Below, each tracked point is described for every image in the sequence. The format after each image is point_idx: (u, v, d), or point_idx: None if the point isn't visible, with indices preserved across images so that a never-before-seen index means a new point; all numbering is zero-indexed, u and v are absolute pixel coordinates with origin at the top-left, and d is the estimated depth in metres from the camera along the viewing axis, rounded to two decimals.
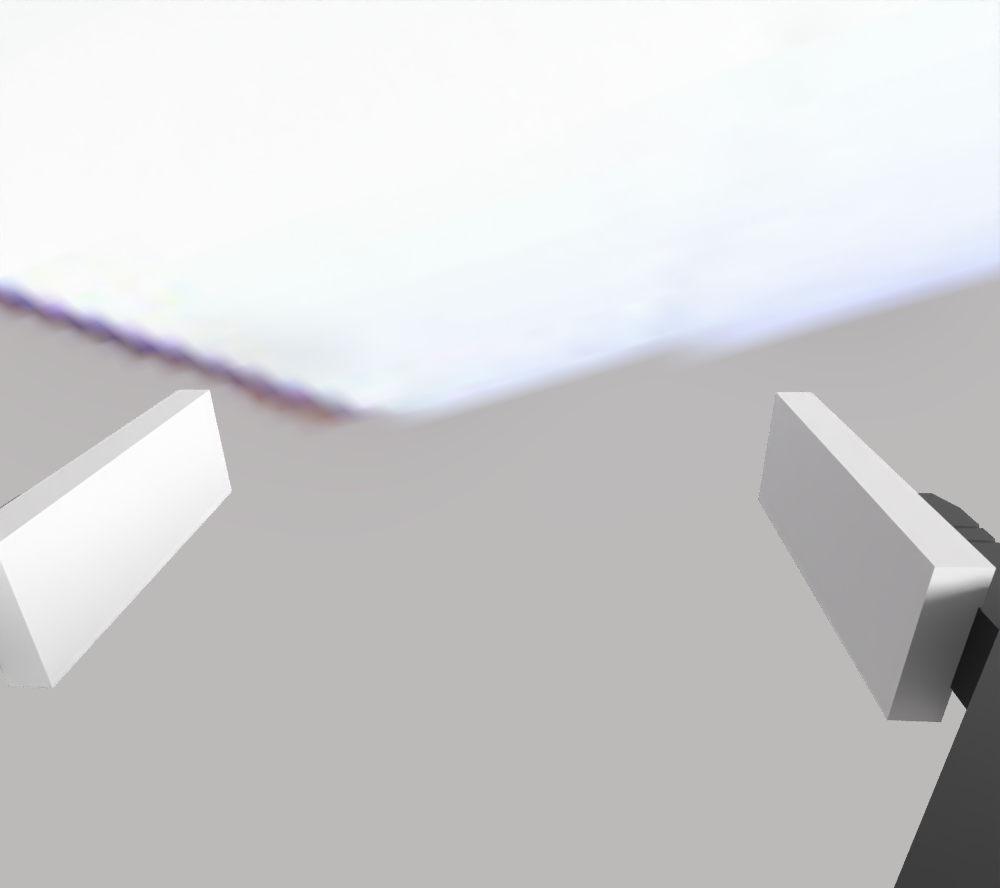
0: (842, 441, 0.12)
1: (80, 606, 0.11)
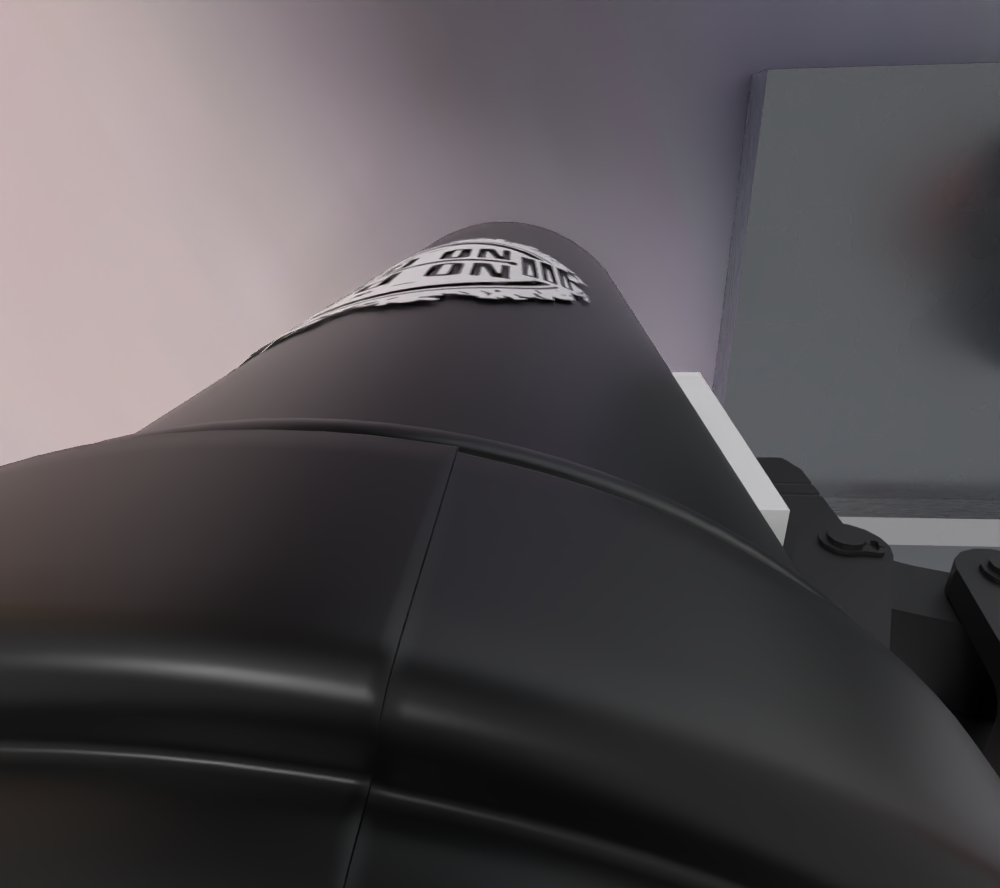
0: (707, 412, 0.13)
1: None
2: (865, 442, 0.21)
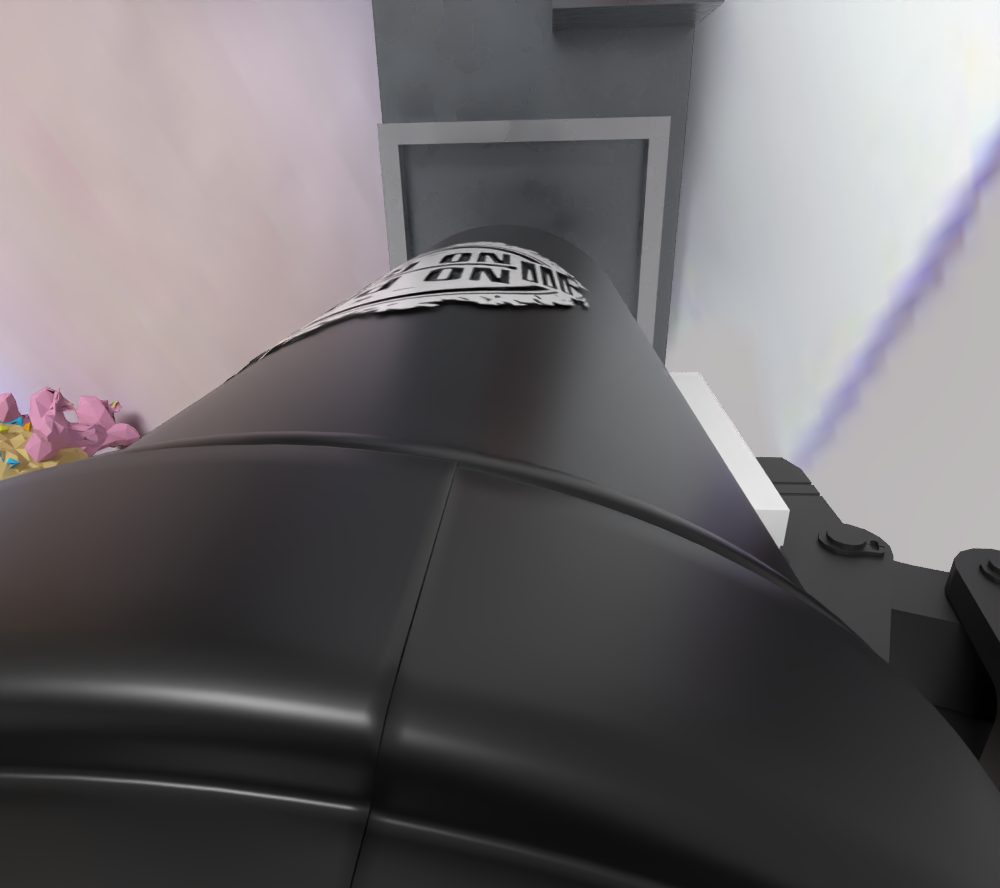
0: (707, 412, 0.13)
1: None
2: (465, 78, 0.34)
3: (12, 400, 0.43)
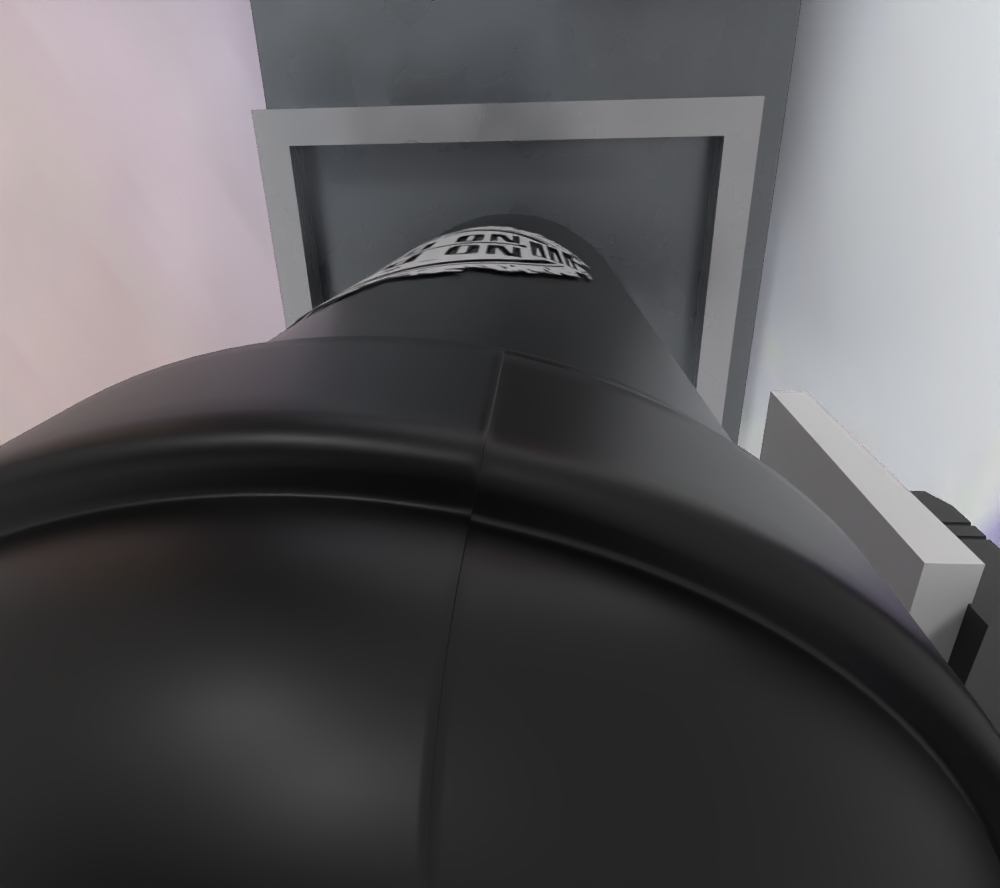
0: (836, 439, 0.12)
1: None
2: (404, 31, 0.19)
3: None
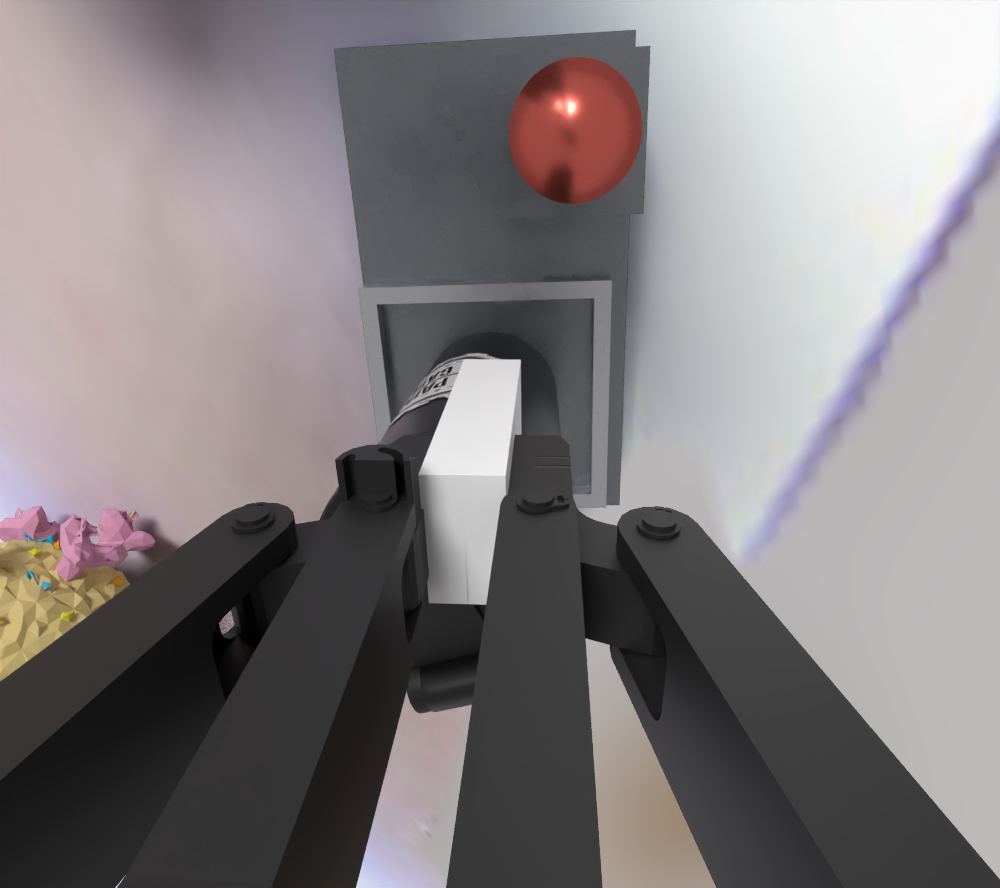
0: (499, 394, 0.14)
1: None
2: (434, 247, 0.39)
3: (42, 512, 0.48)
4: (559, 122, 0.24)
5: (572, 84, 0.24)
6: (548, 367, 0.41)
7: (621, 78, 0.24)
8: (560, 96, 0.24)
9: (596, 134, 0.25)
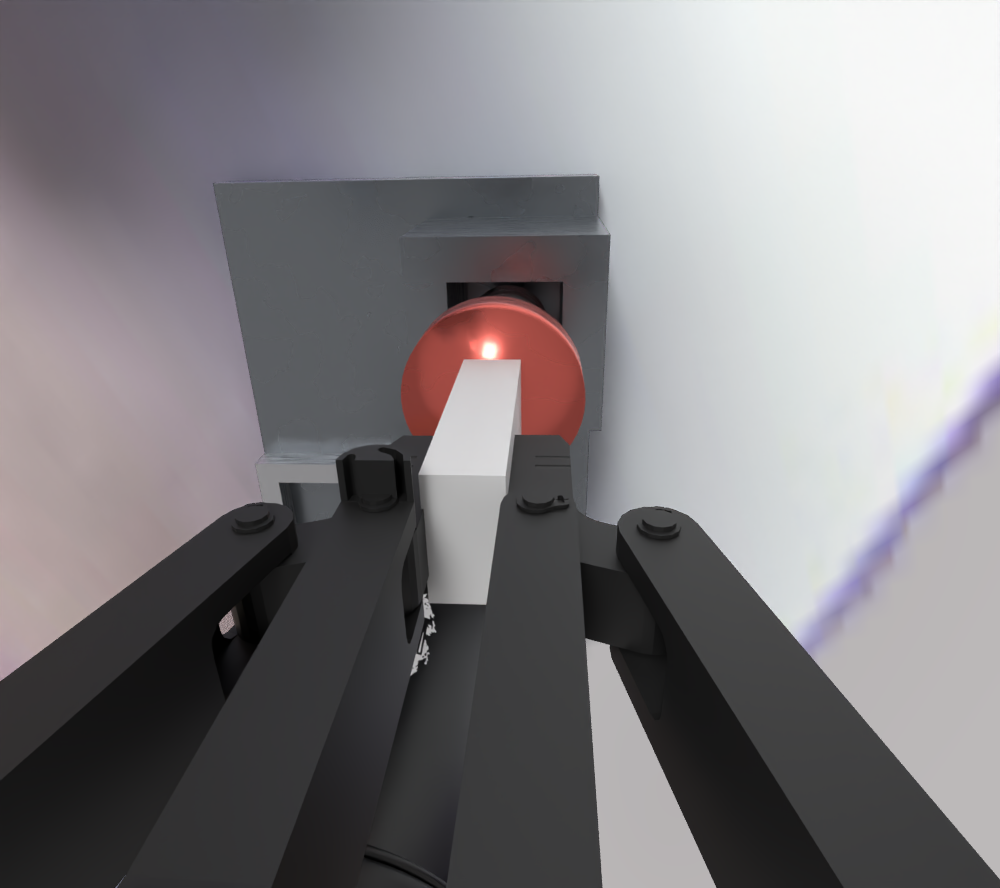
0: (499, 394, 0.14)
1: None
2: (350, 415, 0.31)
3: None
4: None
5: (486, 342, 0.17)
6: None
7: (555, 337, 0.17)
8: (470, 355, 0.17)
9: (522, 403, 0.18)
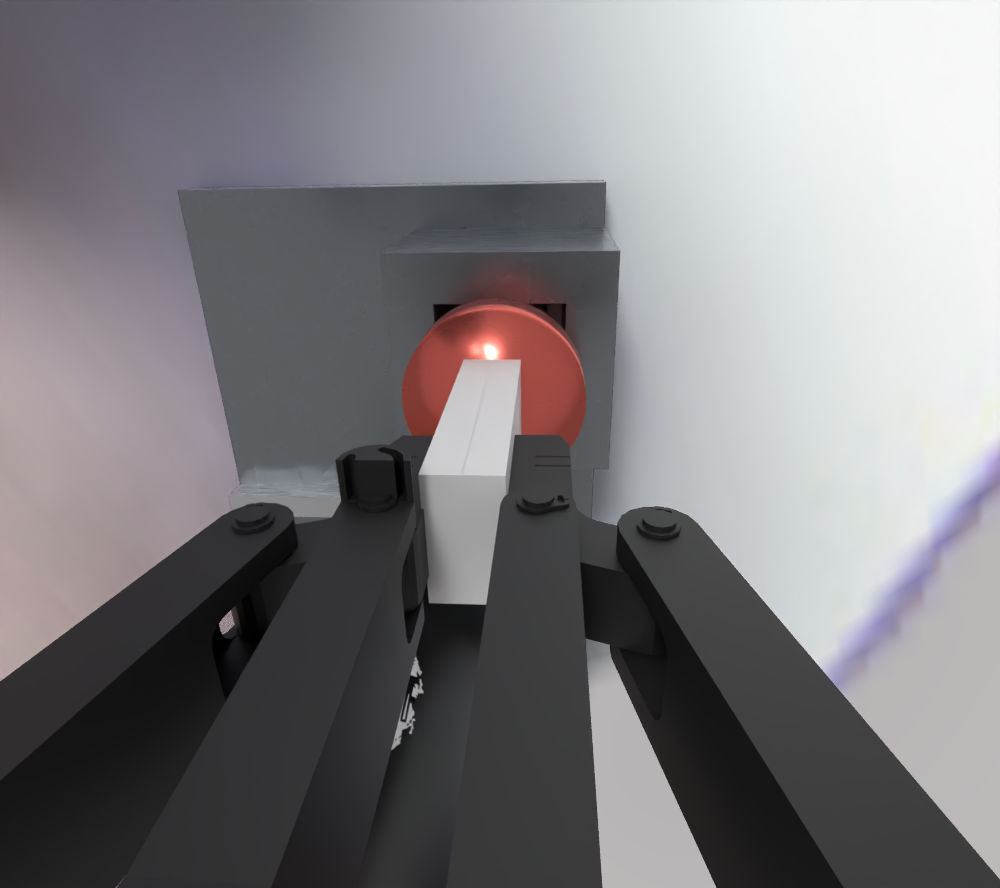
0: (499, 394, 0.14)
1: None
2: (332, 443, 0.29)
3: None
4: None
5: (487, 344, 0.17)
6: None
7: (556, 339, 0.17)
8: (471, 357, 0.17)
9: (522, 405, 0.18)
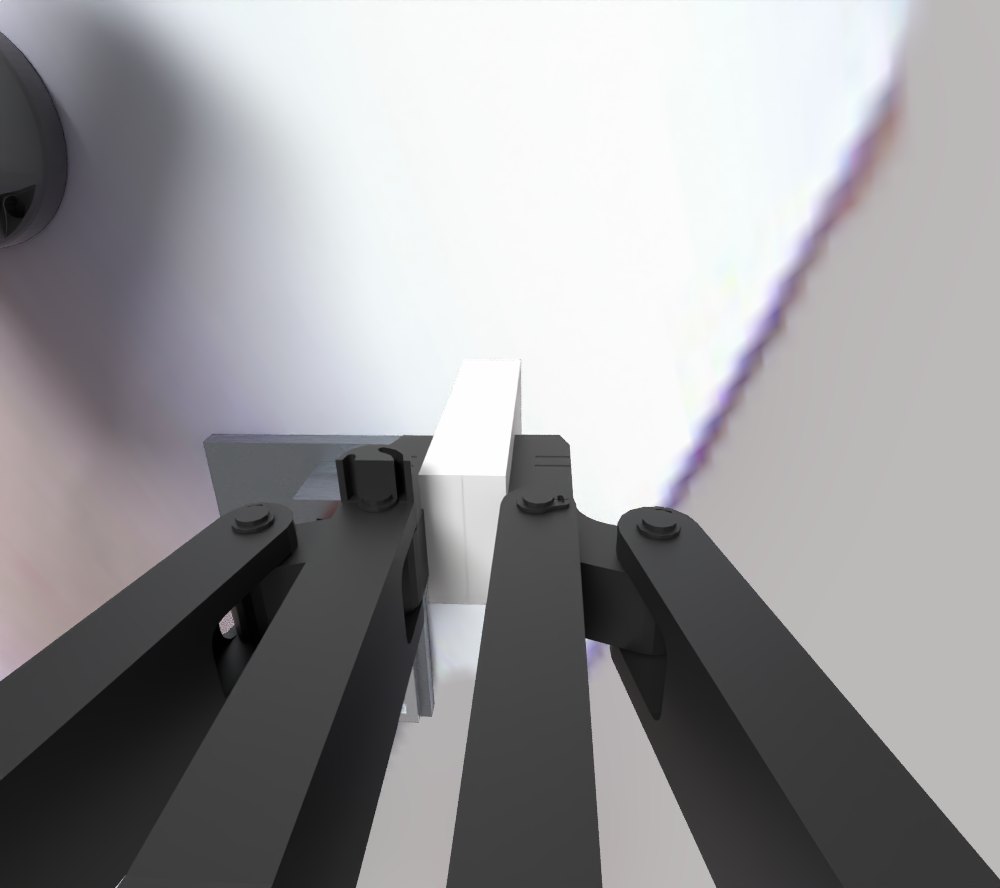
0: (499, 394, 0.14)
1: None
2: None
3: None
4: None
5: None
6: None
7: None
8: None
9: None
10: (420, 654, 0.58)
